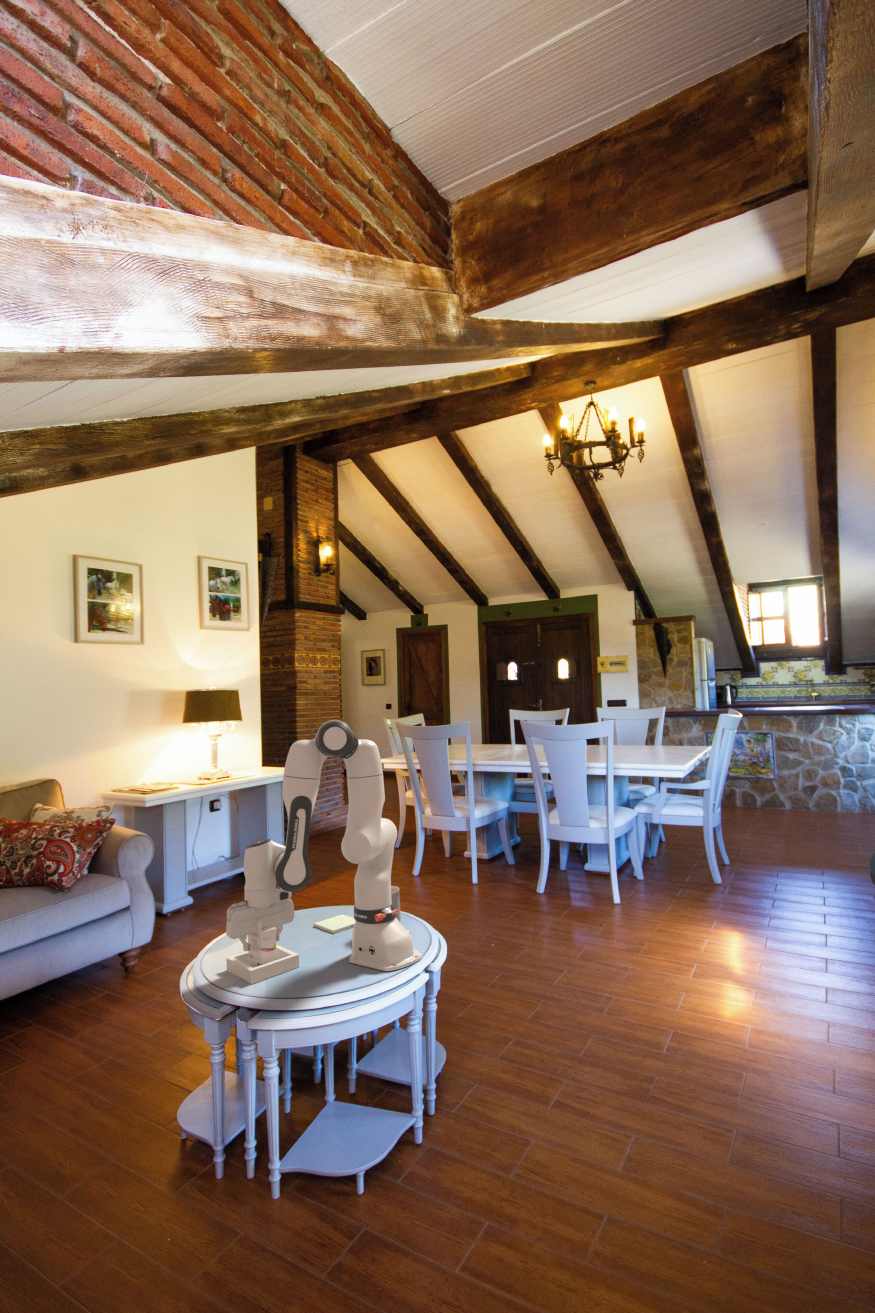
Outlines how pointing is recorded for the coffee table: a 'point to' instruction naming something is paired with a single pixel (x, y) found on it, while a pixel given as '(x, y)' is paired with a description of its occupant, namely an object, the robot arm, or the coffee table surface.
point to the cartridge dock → (252, 975)
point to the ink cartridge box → (262, 946)
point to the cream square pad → (336, 924)
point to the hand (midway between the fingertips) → (261, 945)
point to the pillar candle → (396, 900)
